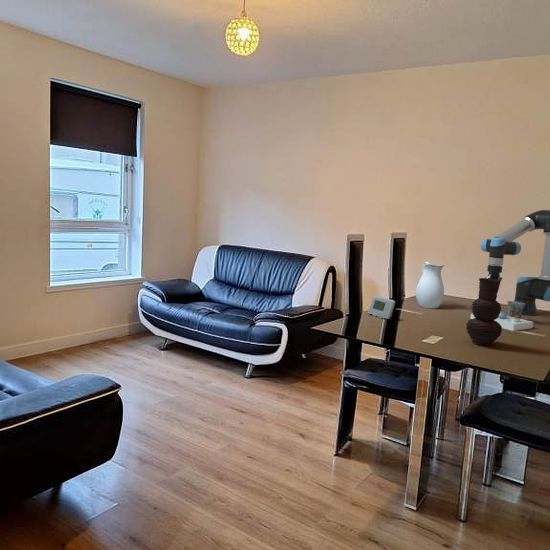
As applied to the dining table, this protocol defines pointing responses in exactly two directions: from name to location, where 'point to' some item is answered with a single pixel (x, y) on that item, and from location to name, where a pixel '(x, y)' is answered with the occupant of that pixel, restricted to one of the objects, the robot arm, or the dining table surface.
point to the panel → (512, 323)
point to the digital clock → (381, 307)
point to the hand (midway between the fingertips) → (490, 306)
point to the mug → (515, 309)
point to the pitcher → (430, 286)
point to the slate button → (502, 315)
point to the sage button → (515, 320)
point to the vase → (485, 314)
